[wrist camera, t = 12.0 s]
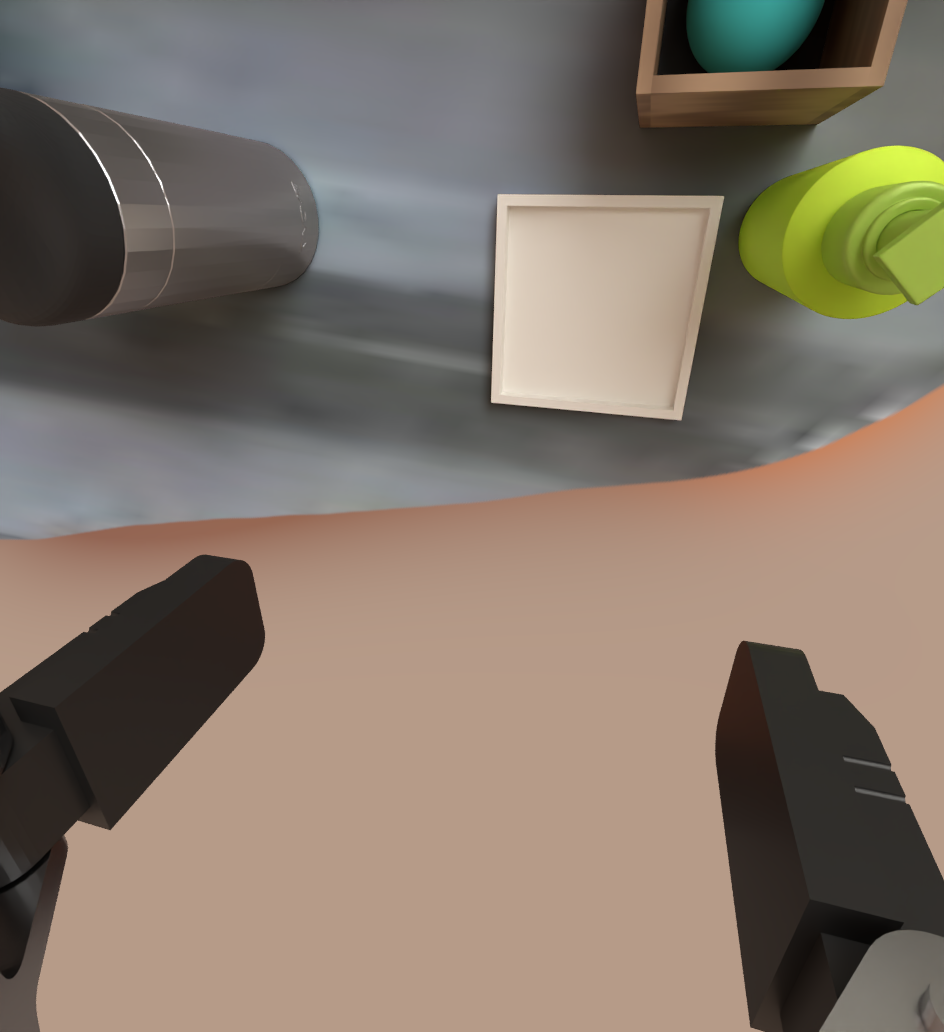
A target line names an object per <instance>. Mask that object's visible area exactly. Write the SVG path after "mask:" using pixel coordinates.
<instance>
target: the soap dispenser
mask: <svg viewBox="0 0 944 1032" xmlns="http://www.w3.org/2000/svg"><path fill="white" fill-rule="evenodd" d="M738 245H739V253H740V257H741V260H742V263H743V265H744V267H745V268H746V270H747V271H748V272H749V273H750V274H751V275H752V276H753V277H754V278H755V279H756V280H758V281H760V282H761V283H763V284H765V285H767V286H769V287H771V288H772V289H774V290H776V291H778V292H780V293H782V294H783V295H785V296H787V297H789V298H791V299H793V300H795V301H796V302H798V303H800V304H802V305H804V306H806V307H807V308H809V309H811V310H813V311H815V312H817V313H819V314H822V315H825V316H829V317H833V318H840V319H857V318H865V317H870V316H874V315H878V314H881V313H884V312H886V311H889V310H891V309H893V308H895V307H897V306H899V305H901V304H903V303H905V302H906V301H909V303H911V304H914V305H919V304H920V303H922V302H923V301H925V300H926V299H928V298H929V297H931V296H932V295H934V294H935V293H937V292H938V291H940V290H941V289H943V288H944V161H942V160H941V159H940V158H938V157H937V156H935V155H934V154H932V153H930V152H927V151H925V150H922V149H919V148H915V147H909V146H886V147H879V148H875V149H871V150H867V151H864V152H861V153H858V154H855V155H852V156H849V157H846V158H843V159H840V160H837V161H834V162H831V163H828V164H825V165H822V166H819V167H816V168H813V169H810V170H807V171H804V172H801V173H798V174H795V175H792V176H789V177H786V178H784V179H781V180H780V181H778V182H776V183H774V184H773V185H771V186H770V187H768V188H767V189H766V190H765V191H764V192H762V193H761V194H760V195H759V196H758V197H757V199H756V200H755V201H754V202H753V204H752V205H751V206H750V208H749V209H748V211H747V213H746V215H745V217H744V219H743V222H742V225H741V228H740V232H739V242H738Z"/></svg>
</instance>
